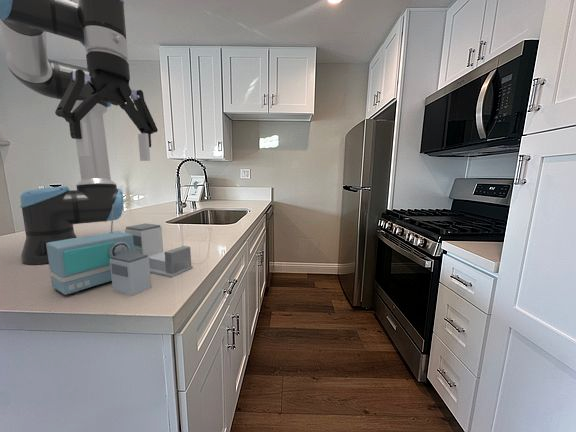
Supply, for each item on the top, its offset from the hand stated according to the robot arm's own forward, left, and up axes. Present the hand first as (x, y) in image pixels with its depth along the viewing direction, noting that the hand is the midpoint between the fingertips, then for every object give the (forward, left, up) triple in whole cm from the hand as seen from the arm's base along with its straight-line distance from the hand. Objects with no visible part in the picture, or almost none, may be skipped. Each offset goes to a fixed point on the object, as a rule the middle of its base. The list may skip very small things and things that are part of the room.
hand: (117, 158), depth 57 cm
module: (+1, 0, -32) cm, 32 cm away
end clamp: (+2, +14, -31) cm, 34 cm away
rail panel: (-6, +13, -31) cm, 35 cm away
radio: (-11, -1, -32) cm, 34 cm away
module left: (-12, +14, -31) cm, 36 cm away
